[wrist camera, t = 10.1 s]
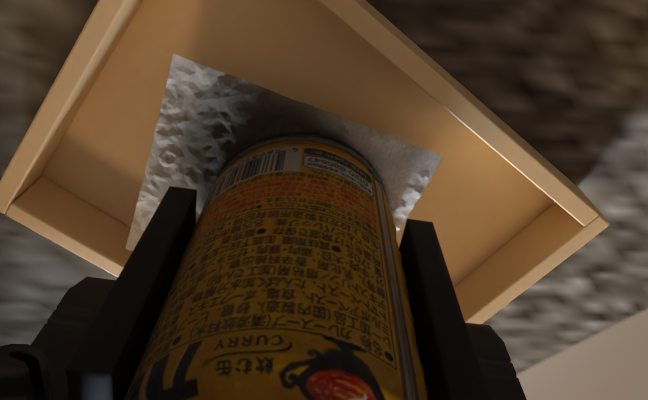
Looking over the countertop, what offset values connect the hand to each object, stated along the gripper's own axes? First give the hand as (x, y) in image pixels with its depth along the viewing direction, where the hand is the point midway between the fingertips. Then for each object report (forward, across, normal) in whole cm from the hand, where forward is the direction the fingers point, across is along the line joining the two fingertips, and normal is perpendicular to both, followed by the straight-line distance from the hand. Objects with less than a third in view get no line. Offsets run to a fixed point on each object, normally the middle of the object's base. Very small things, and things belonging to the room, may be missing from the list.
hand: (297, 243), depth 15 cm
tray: (+4, 0, 0) cm, 4 cm away
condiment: (+2, -1, 0) cm, 3 cm away
